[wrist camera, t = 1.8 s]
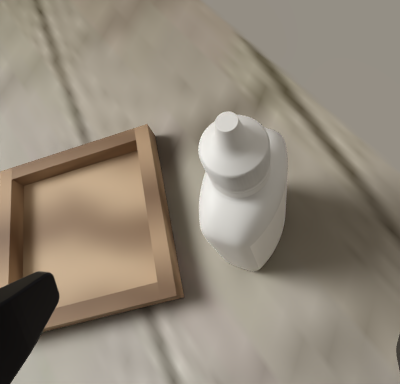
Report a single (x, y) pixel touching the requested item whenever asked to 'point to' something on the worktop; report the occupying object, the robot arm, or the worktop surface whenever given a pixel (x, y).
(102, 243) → the shallow wooden tray
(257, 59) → the worktop surface
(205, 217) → the eye dropper bottle
